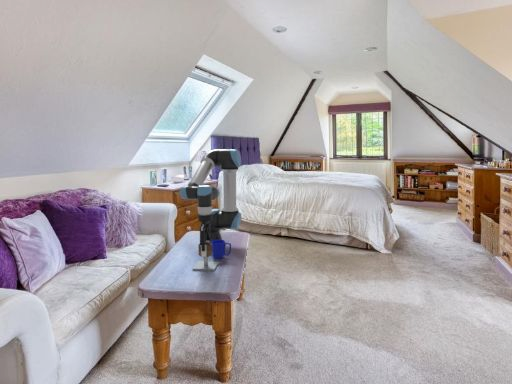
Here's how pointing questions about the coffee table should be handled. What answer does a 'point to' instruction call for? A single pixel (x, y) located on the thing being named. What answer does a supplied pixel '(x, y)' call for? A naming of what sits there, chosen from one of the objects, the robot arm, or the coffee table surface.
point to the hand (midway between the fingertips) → (205, 254)
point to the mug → (219, 248)
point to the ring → (208, 249)
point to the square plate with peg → (205, 265)
